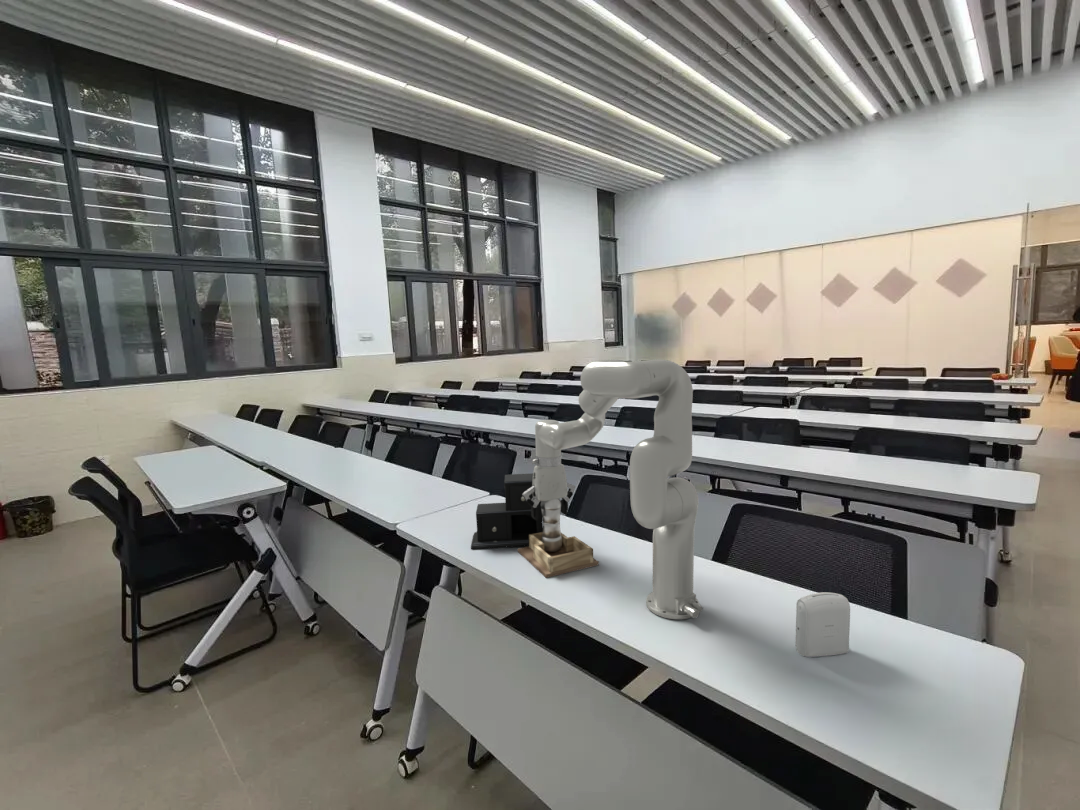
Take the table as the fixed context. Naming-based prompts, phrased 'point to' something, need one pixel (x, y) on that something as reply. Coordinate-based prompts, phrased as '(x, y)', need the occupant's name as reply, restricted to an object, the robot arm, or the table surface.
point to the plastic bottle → (551, 525)
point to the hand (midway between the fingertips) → (549, 516)
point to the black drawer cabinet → (507, 517)
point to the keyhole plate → (558, 555)
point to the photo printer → (822, 624)
